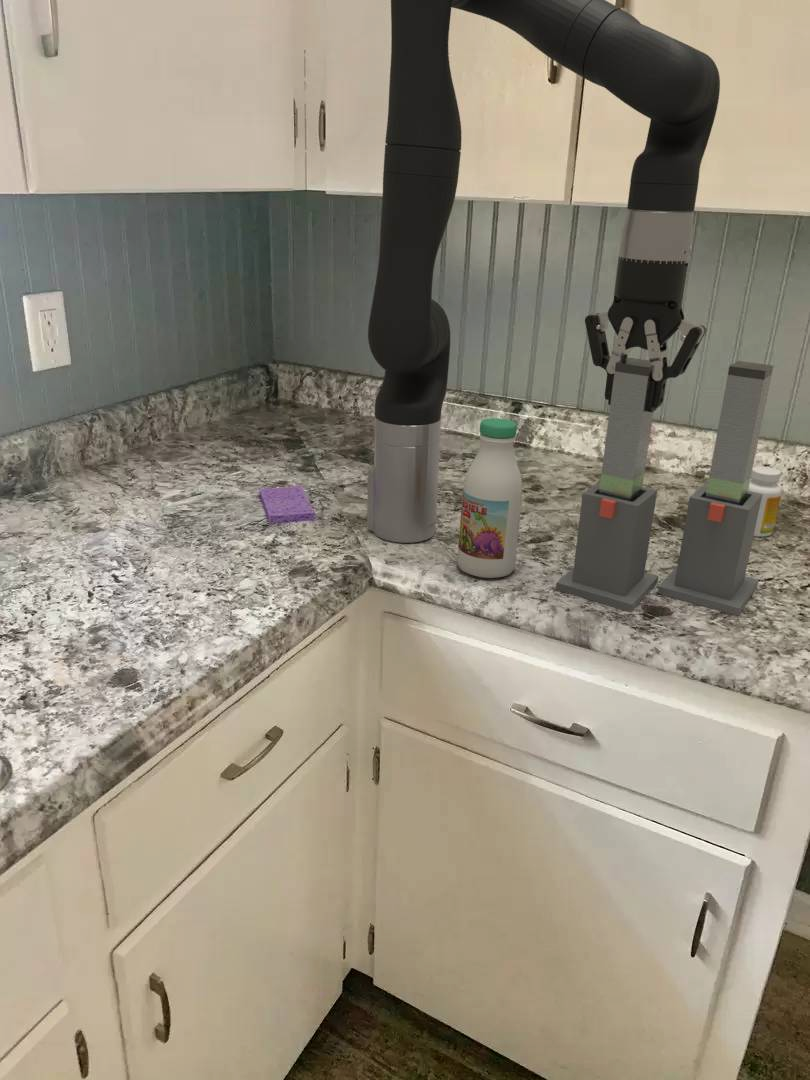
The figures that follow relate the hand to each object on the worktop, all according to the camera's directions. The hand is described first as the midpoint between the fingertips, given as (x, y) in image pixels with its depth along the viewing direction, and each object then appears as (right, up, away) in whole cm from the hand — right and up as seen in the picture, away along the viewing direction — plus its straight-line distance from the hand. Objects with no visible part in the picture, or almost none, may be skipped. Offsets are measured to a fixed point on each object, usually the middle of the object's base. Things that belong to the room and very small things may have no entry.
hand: (632, 406), depth 99 cm
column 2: (+13, -16, +6) cm, 21 cm away
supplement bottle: (+26, -15, +29) cm, 41 cm away
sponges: (-46, -11, +32) cm, 57 cm away
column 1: (0, -15, +7) cm, 17 cm away
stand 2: (+12, -22, +9) cm, 27 cm away
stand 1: (-1, -22, +9) cm, 24 cm away
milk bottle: (-16, -20, +13) cm, 29 cm away
